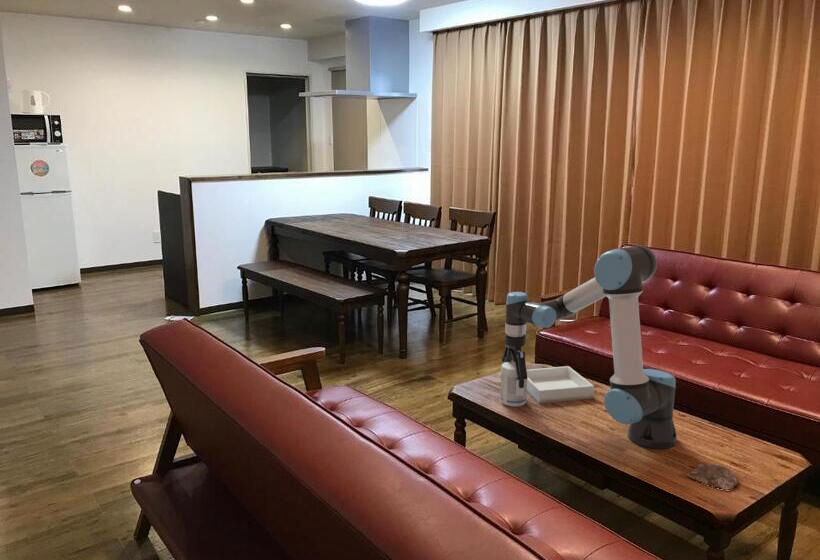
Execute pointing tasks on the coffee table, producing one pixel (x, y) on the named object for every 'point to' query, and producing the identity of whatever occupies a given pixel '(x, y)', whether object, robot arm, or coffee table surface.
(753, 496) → the coffee table surface
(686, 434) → the coffee table surface
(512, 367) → the supplement tub
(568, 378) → the white bin
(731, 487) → the shell
